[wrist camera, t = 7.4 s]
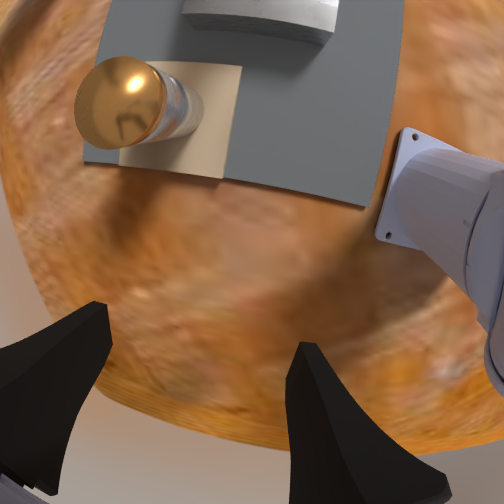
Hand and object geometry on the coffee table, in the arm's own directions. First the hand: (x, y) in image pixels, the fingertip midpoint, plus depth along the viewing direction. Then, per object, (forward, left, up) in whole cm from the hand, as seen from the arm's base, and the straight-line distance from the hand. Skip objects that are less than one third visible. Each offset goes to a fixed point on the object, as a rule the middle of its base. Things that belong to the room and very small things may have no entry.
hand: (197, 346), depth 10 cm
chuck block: (+1, -18, -10) cm, 20 cm away
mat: (+2, -13, -10) cm, 17 cm away
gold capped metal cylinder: (+4, -8, -9) cm, 13 cm away
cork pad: (+5, -8, -10) cm, 13 cm away
